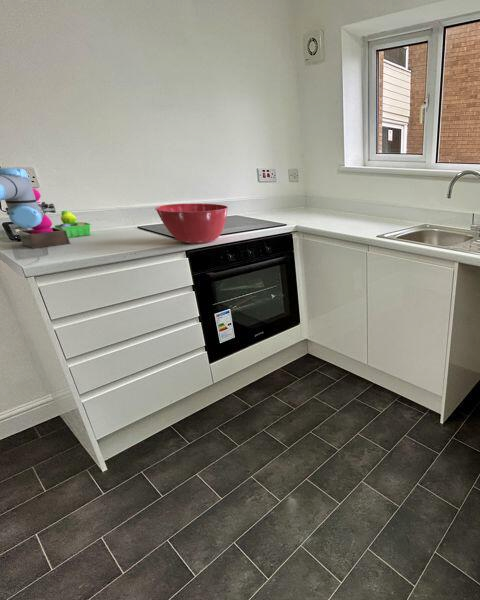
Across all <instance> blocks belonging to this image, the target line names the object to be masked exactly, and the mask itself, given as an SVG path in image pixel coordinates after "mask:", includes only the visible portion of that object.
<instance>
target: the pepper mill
mask: <svg viewBox="0 0 480 600" xmlns="http://www.w3.org/2000/svg"><path fill="white" fill-rule="evenodd" d="M32 189H33V192H34V195H35V198H36V201H37V203H38V204H39V205H41V204H42V200H41V193H40V192H39V190H37V189H36V188H33V187H32ZM52 225H53V222H52V220H51V219H50V218H49V216H48V215H47V214H45V215H44V217H43V218H42V221H41V223H40V224H39V225H37V226H35V227H32V228H31V230H32V233H33V234H35V233H45V232H53V229H50V228H52Z"/></svg>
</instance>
